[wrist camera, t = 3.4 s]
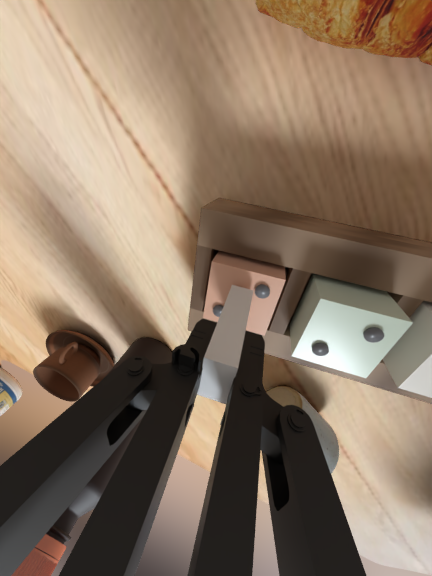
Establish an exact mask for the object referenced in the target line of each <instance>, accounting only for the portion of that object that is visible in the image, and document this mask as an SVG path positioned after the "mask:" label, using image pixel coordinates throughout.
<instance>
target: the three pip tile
mask: <svg viewBox="0 0 432 576" xmlns="http://www.w3.org/2000/svg"><path fill="white" fill-rule="evenodd" d="M285 281H286V276H285V266H281V265H277V264H273V263H269V262H265V261H261V260H257V259H253V258H248V257H244V256H240V255H236V254H232V253H228V252H224V251H220V250H219V252H218V253H217V255H216V256H215V257H214V259H213V260H212V263H211V269H210V276H209V282H208V288H207V295H206V301H205V307H204V314H203V318H205V319H208V320H212V321H215V322H218V320H219V317H220V315H221V312H222V309H223V307H224V304H225V302H226V299H227V296H228V294H229V291H230V289H231V286H232V285H235V286H239V287H243V288H247V289H250V290H254V291H253V296H252V301H251V306H250V311H249V316H248V321H247V326H246V331H250V332H253V333H256V334H260V335H263V336H265V334H266V331H267V328H268V326H269V323H270V320H271V318H272V315H273V313H274V310H275V307H276V305H277V302H278V299H279V297H280V294H281V291H282V289H283V286H284V284H285Z"/></svg>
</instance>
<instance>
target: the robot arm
mask: <svg viewBox="0 0 432 576" xmlns="http://www.w3.org/2000/svg"><path fill="white" fill-rule="evenodd" d="M253 291H254V290H250V289H247V288H243V287H239V286H235V285H232V286H231V289H230V291H229V294H228V296H227V299H226V302H225V304H224V307H223V309H222V312H221V315H220V317H219V320H218V322H217V323H216V322H213V321H210V320H206V319H201V320H200V321H198V322H197V323H196V325H195V327H194V329H193V330H192V332H191V334H190V336H189V338H188V340H187V342H186V344H184V345H180V346H178V347H176V348H175V349H174V350H173V351H172V362H170V363H167V364H151V361H150V360H149V359H148V358H146V357H143V356H133V357H130V358H128V359H127V360H125V361H124V362H122V363H121V364H120V365H119V366H118V367H116V368H115V369H114V370H113V371H112V372H111V373H109V374H108V375H107V376H106V377H105V378H104V379H102V380H101V381H100V382H99V383H98V384H96V385H95V386H94V387H93V388H92V389H91V390H89V391H88V392H87V393H86V394H85V395H83V396H82V397H81V398H80V399H79V400H78V401H76V402H75V403H74V404H73V405H72V406H71V407H69V408H68V409H67V410H66V411H65V412H63V413H62V414H61V415H60V416H59V417H58V418H56V419H55V420H54V421H53V422H52V423H50V424H49V425H48V426H47V427H46V428H45V429H43V430H42V431H41V432H40V433H39V434H37V435H36V436H35V437H34V438H33V439H32V440H30V441H29V442H28V443H27V444H26V445H25V446H23V447H22V448H21V449H20V450H19V451H17V452H16V453H15V454H14V455H13V456H11V457H10V458H9V459H8V460H7V461H6V462H4V463H3V464H2V465H1V466H0V576H11V575H12V574H13V573H14V572H15V570H16V569H17V568H18V567H19V566H20V564H21V563H22V562H23V561H24V560H25V558H26V557H27V556H28V555H29V554H30V552H31V551H32V550H33V549H34V548H35V546H36V545H37V544H38V543H39V541H40V540H41V539H42V538H43V537H44V535H45V534H46V533H47V532H48V531H49V529H50V528H51V527H52V526H53V525H54V523H55V522H56V521H57V520H58V519H59V517H60V516H61V515H62V514H63V513H64V511H65V510H66V509H67V508H68V506H69V505H70V504H71V503H72V502H73V500H74V499H75V498H76V497H77V496H78V494H79V493H80V492H81V491H82V490H83V488H84V487H85V486H86V485H87V484H88V482H89V481H90V480H91V479H92V478H93V476H94V475H95V474H96V473H97V471H98V470H99V469H100V468H101V467H102V465H103V464H104V463H105V462H106V461H107V459H108V458H109V457H110V456H111V455H112V453H113V452H114V451H115V450H116V449H117V447H118V446H119V445H120V444H121V443H122V441H123V440H124V439H125V438H126V436H127V435H128V434H129V433H130V432H131V430H132V429H133V428H134V427H135V426H136V424H137V423H138V422H139V421H140V420H141V418H142V417H143V416H144V417H143V418H142V420H141V422H140V424H139V426H138V428H137V430H136V432H135V433H134V435H133V437H132V439H131V441H130V443H129V445H128V447H127V449H126V450H125V452H124V454H123V456H122V458H121V460H120V462H119V464H118V465H117V467H116V469H115V471H114V473H113V475H112V477H111V479H110V480H109V482H108V484H107V486H106V488H105V490H104V492H103V494H102V495H101V497H100V499H99V501H98V503H97V505H96V507H95V509H94V510H93V512H92V514H91V516H90V518H89V520H88V522H87V524H86V526H85V527H84V529H83V531H82V533H81V535H80V537H79V539H78V541H77V542H76V544H75V546H74V548H73V550H72V552H71V554H70V556H69V557H68V559H67V561H66V564H65V565H64V567H63V569H62V571H61V572H60V575H59V576H135V573H136V570H137V567H138V564H139V562H140V559H141V556H142V553H143V550H144V547H145V544H146V541H147V539H148V536H149V533H150V530H151V527H152V524H153V521H154V519H155V515H156V513H157V510H158V507H159V504H160V501H161V498H162V496H163V493H164V490H165V487H166V484H167V481H168V478H169V475H170V473H171V470H172V467H173V464H174V461H175V458H176V455H177V452H178V450H179V447H180V444H181V441H182V438H183V435H184V432H185V430H186V427H187V424H188V421H189V418H190V415H191V412H192V409H193V407H194V401H195V398H196V395H197V394H198V395H200V396H203V397H206V398H209V399H212V400H215V401H218V402H221V403H224V404H226V408H225V412H224V415H223V418H222V421H221V424H220V425H221V428H220V432H219V437H218V441H217V446H216V450H215V455H214V459H213V464H212V468H211V473H210V477H209V482H208V486H207V490H206V495H205V499H204V504H203V509H202V513H201V518H200V522H199V526H198V531H197V535H196V540H195V544H194V549H193V554H192V558H191V562H190V567H189V572H188V576H252V568H253V552H254V538H255V522H256V508H257V493H258V477H259V462H260V450H261V451H262V456H263V463H264V470H265V477H266V484H267V491H268V498H269V505H270V511H271V519H272V526H273V532H274V540H275V547H276V554H277V560H278V568H279V574H280V576H366V573H365V571H364V568H363V565H362V562H361V559H360V556H359V553H358V550H357V548H356V545H355V542H354V539H353V536H352V533H351V530H350V527H349V525H348V522H347V519H346V516H345V513H344V510H343V507H342V504H341V502H340V499H339V496H338V493H337V490H336V487H335V484H334V482H333V479H332V476H331V473H330V470H329V467H328V464H327V461H326V459H325V456H324V453H323V450H322V447H321V444H320V441H319V438H318V436H317V433H316V430H315V427H314V424H313V422H312V420H311V418H310V416H309V415H308V414H307V413H306V412H305V411H304V410H303V409H301V408H300V407H298V406H295V405H286V406H284V407H283V406H282V405H280V404H279V403H277V402H276V401H274V400H273V399H272V398H271V397H270V396H269V395H268V394H267V393H266V391H265V390H264V387H263V384H262V377H263V363H264V350H265V341H264V339H263V337H262V335H260V334H256V333H253V332H249V331H246V326H247V321H248V316H249V311H250V306H251V301H252V296H253Z"/></svg>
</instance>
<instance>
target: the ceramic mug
mask: <svg viewBox="0 0 432 576" xmlns="http://www.w3.org/2000/svg"><path fill="white" fill-rule="evenodd" d="M266 393H267V394H268V395H269V396H270V397H271V398H272V399H273V400H274V401H276V402H277V403H279V404H280V405H282V406H283V407H284V406H286V405H295V406H298V407H300V408H301V409H303V410H304V411H305V412H306V413H307V414H308V415H309V416H310V418H311V420H312V422H313V424H314V427H315V430H316V433H317V436H318V438H319V441H320V444H321V447H322V450H323V453H324V456H325V459H326V461H327V464H328V467H329V470H330V473H332V472H333V470H334V469H335V467H336V464H337V462H338V457H339V446H338V440H337V437H336V434H335V433H334V431H333V429H332V428H331V426H330V425H329V424H328V423H327V422H326V421H325V420H324V419H323V418H322V417H321V415H320V414H319V413H318V412H317V411H316V410H315V409H314V408H313V407H312V406H311V405H310V403H309V402H308V401H307V400H306V399H305V398H304V397H303V396H302V395H301V394H300V393H299V392H297V391H296V390H294V389H292V388H290V387H286V386H279V387H275V388H272V389H270V390H269V391H267V392H266Z"/></svg>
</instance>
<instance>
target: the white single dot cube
mask: <svg viewBox="0 0 432 576" xmlns="http://www.w3.org/2000/svg"><path fill="white" fill-rule="evenodd" d="M410 319H411V321H412V322H413V324H412V325H411V326H410V327H409V328H408V330H407V331H406V332H405V333H404V334H403V335H402V337H401V338H400V339H399V340H398V341H397V342H396V344H395V345H394V346H393V347H392V348H391V350H390V351H389V352H388V353H387V354H386V355H385V357H384V358H383V361H384V363H385V365H386V367H387V369H388V371H389V372H390V374H391V376H392V378H393V380H394V382H395V384H396V386H397V387H398V388H400V389H403V390H407V391H410V392H413V393H417V394H420V395H423V396H427V397H430V398H432V302H428V301H423V302H422V303H421V304H420V306H419V307H418V308H417V309H416V310H415V312H414V313H413V314H412V315H411V317H410Z"/></svg>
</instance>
